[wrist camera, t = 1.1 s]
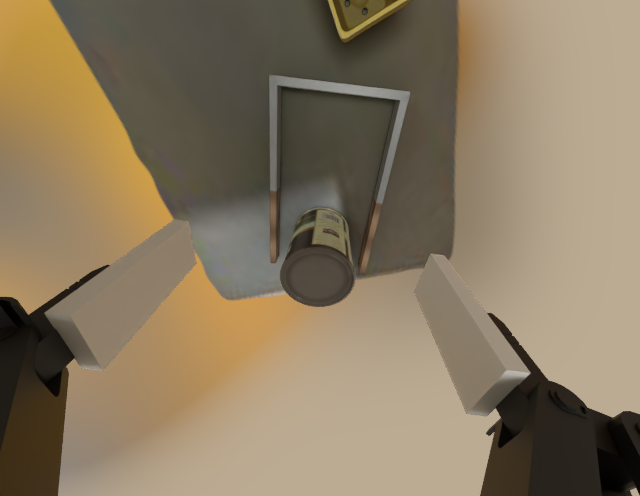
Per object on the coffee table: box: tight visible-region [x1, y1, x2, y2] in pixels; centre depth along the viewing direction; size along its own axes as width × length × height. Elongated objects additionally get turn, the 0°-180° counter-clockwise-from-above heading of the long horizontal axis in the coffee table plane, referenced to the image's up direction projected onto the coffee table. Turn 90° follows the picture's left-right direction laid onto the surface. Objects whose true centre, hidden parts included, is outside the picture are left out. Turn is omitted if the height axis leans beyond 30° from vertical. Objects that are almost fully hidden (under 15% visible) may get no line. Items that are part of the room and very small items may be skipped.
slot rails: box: [270, 187, 382, 273], centre depth 43 cm, size 14×18×3 cm
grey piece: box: [269, 75, 410, 204], centre depth 35 cm, size 15×18×3 cm
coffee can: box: [280, 207, 355, 307], centre depth 38 cm, size 10×10×14 cm
